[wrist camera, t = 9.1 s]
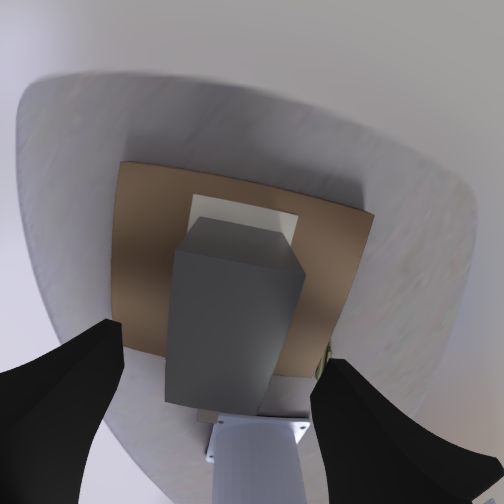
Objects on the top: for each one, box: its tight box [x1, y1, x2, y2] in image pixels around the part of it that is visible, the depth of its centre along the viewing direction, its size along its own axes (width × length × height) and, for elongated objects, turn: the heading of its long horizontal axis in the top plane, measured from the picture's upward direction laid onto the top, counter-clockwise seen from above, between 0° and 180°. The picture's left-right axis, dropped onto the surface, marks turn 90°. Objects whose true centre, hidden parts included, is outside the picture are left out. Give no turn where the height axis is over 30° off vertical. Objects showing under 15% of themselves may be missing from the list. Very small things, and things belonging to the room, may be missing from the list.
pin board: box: [111, 161, 374, 378], centre depth 13 cm, size 11×13×4 cm
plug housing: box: [165, 216, 306, 424], centre depth 12 cm, size 9×4×5 cm, turn 168°
